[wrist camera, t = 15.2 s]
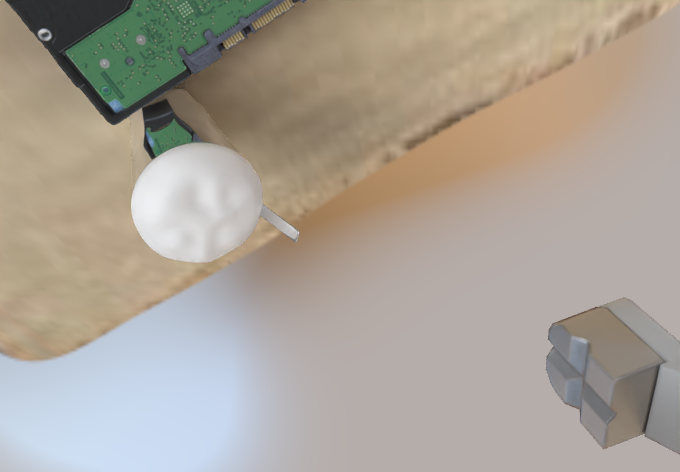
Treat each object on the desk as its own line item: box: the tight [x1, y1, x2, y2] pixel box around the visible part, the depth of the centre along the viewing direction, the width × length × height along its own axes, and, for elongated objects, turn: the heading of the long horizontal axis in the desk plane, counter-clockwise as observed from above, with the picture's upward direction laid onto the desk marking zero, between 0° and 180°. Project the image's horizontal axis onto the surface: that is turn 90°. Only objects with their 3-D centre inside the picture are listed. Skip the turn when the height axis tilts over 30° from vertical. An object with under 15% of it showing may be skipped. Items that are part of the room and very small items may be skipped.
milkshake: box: [130, 88, 299, 263], centre depth 25 cm, size 4×5×10 cm
